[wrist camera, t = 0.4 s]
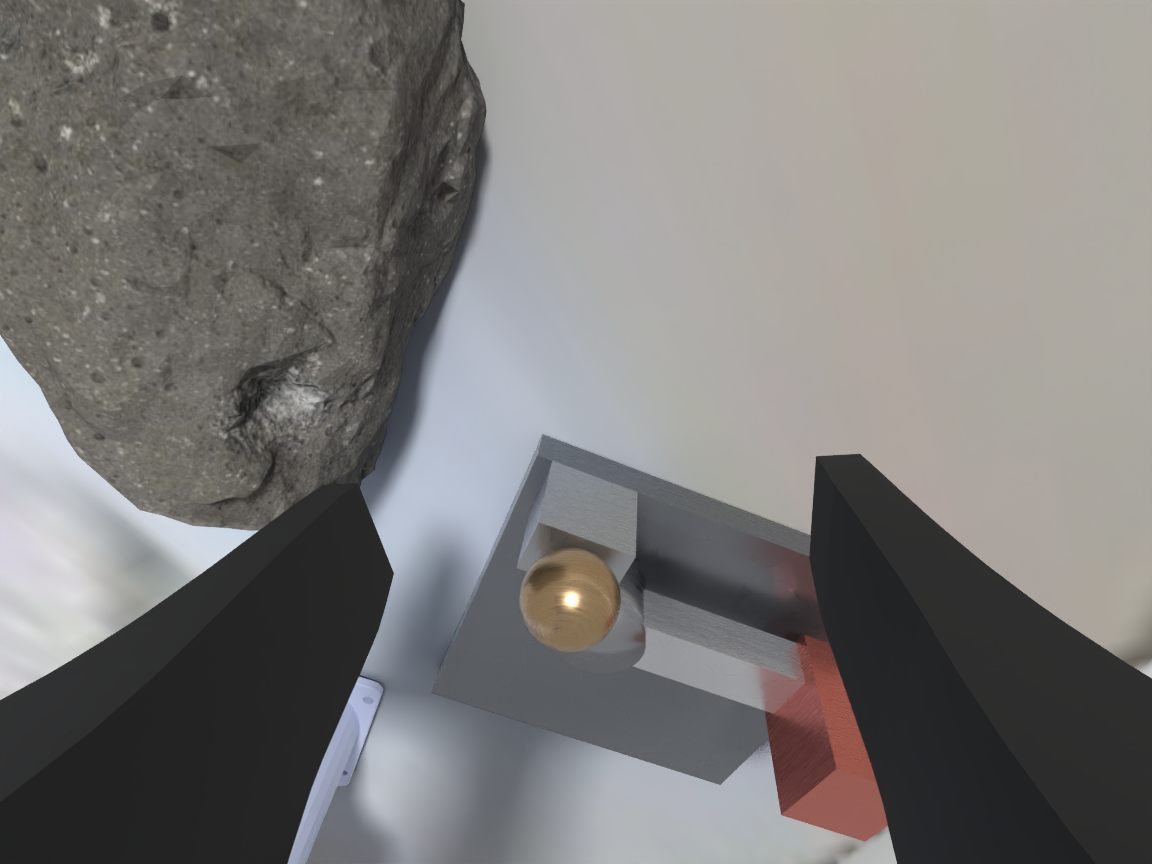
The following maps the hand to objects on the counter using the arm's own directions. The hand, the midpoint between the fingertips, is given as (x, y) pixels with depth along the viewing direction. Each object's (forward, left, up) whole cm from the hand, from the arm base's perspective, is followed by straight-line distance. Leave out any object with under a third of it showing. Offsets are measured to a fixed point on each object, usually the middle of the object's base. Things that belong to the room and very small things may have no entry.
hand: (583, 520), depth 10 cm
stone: (-1, +8, -11) cm, 13 cm away
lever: (-10, -8, -9) cm, 15 cm away
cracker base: (-13, -7, -10) cm, 18 cm away
